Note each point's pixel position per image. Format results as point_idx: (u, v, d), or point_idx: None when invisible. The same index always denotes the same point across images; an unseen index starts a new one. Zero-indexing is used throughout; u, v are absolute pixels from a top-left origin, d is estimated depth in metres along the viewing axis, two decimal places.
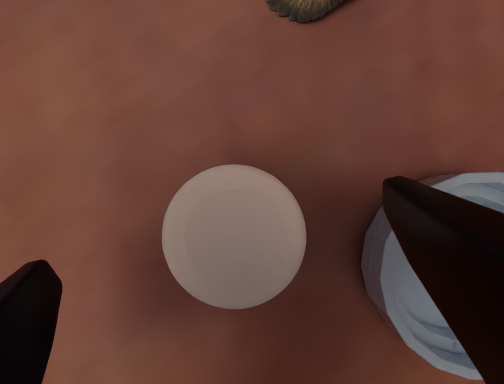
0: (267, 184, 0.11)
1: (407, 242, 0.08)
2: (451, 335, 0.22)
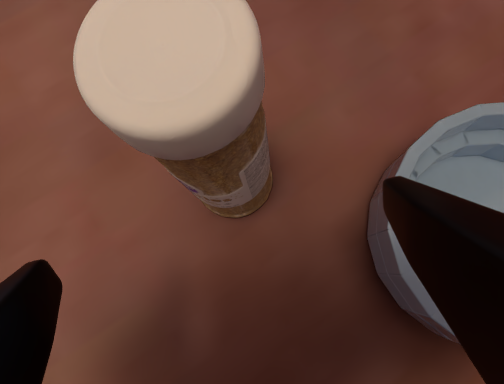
0: None
1: (407, 242, 0.08)
2: None
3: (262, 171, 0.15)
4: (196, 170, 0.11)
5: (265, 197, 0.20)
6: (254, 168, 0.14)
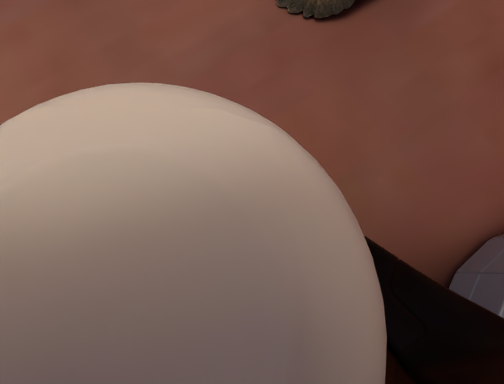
0: (239, 132, 0.03)
1: None
2: None
3: None
4: None
5: None
6: None
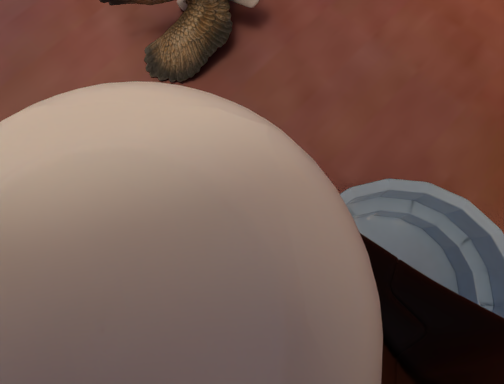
0: (234, 131, 0.03)
1: None
2: None
3: None
4: None
5: None
6: None
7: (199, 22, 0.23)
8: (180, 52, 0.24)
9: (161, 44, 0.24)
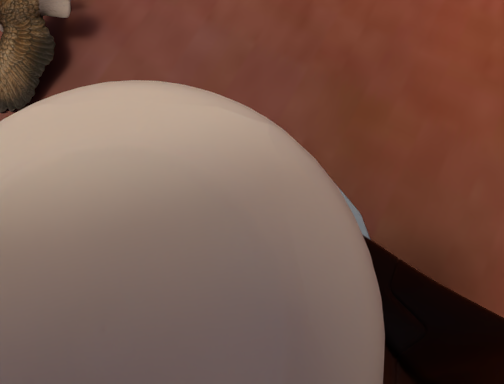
0: (236, 129, 0.03)
1: None
2: None
3: None
4: None
5: None
6: None
7: (15, 44, 0.22)
8: (7, 79, 0.22)
9: None
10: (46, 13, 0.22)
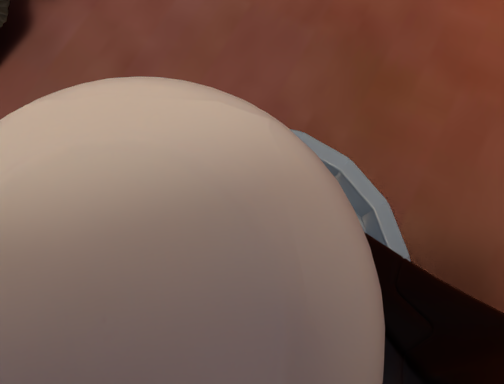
0: (236, 124, 0.03)
1: None
2: None
3: None
4: None
5: None
6: None
7: None
8: None
9: None
10: None
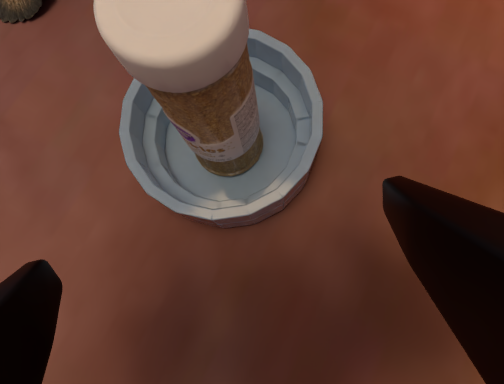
0: None
1: (407, 242, 0.08)
2: None
3: (251, 124, 0.17)
4: (193, 109, 0.13)
5: (256, 157, 0.22)
6: (243, 117, 0.16)
7: None
8: None
9: None
10: None
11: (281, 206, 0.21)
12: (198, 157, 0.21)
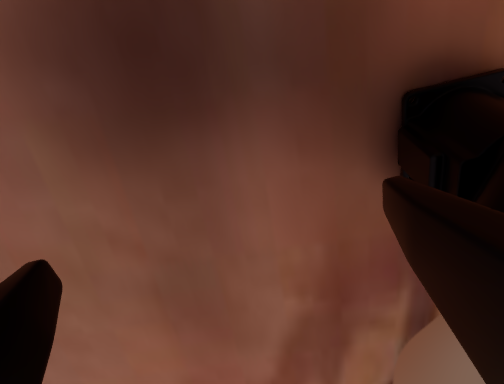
0: None
1: (407, 242, 0.08)
2: None
3: None
4: None
5: None
6: None
7: None
8: None
9: None
10: None
11: None
12: None
